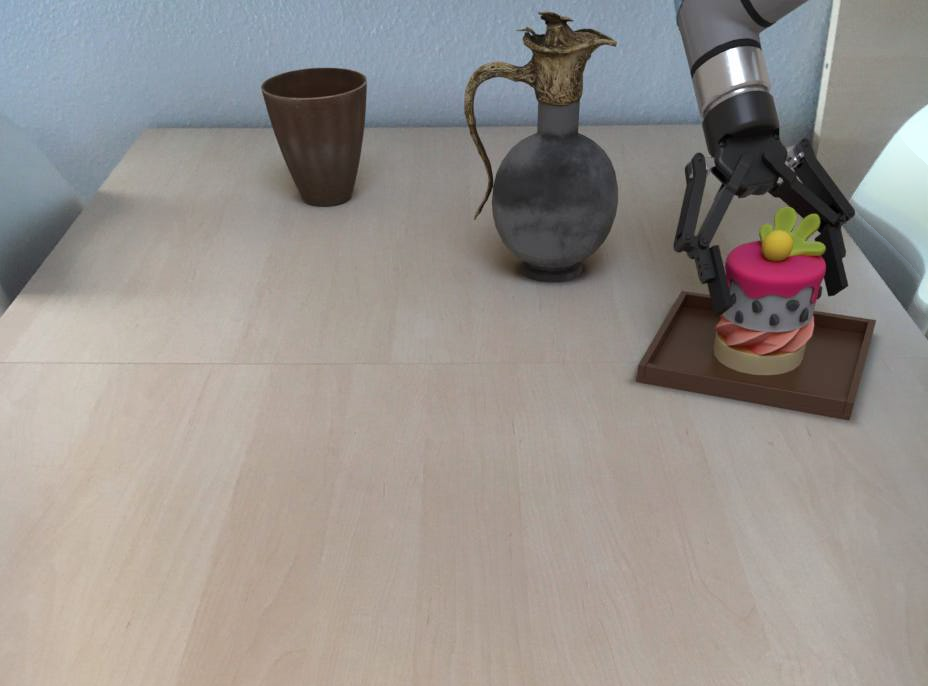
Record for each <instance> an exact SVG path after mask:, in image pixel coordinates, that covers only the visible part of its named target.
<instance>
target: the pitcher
mask: <svg viewBox="0 0 928 686" xmlns="http://www.w3.org/2000/svg"><path fill="white" fill-rule="evenodd" d="M537 13H538V15H540V20H542V21H544V24H545V25H546V27H545V28H546V29H545V33H541V34H538V33H536V32H535V31H534V30H533V29H532V28H530V27H528V26H526V27H525V28H521V29H515V31H516V32H524V35H523V37H522V41H523V46H525V47H527V48H528V49H529V50H530V51H531V52H532V56H531V59H530V60H529V61H528V62H527V63H525V65H522V66H519V65H514V64H511V63H509V62H505V61H500V60H499V61H498V60H497V61H491V62H488V63H484V64H482V65H481V66H479V67H478V68H476V70H475V71H474V72H473V73H472V74H471V75H470V77H469V80H468V82H467V84H466V87H465V89H464V100H463V101H464V102H463V107H464V108H463V109H464V110H463V111H464V117H465V119H466V124H467V127H468V130H469V134H470V137H471V139H472V141H473V143H474V146H475V148H476V150H477V153H478V154H479V155H478V156H480V158H481V160H482V162H483V165H484V167H485V172H486V174H487V186H486V191H485V194H484V197H483V198H482V201H481V203H480V204H479V206H478V208H477V210H476V211H475V213H474V218H473V221H475V220H476V219H477V218H478V216H479V215H481V213H482V211H483V209H484V207H485V204H487V202H488V200H489V198H490V195H491V193H492V195H491V211H492V219H493V222H494V226H495V229H496V231H497V234H498V235H499V238H500V240H501V242H502V243H503V244H504V246H505V247H506V249H508V251H509V252H511V253H512V254H513V255H514V256H515V257H517V258H518V259H520V260H521V261H523V262H522V264H521V265H520V269H521V274H522V275H523V276H525V277H526V278H527V279H530V280H533V281H536V282H543V283H544V282H545V283H563V282H568V281H569V282H570V281H573V280H575V279H576V278H579V277H580V275H581V274H582V272H583V264H582V261H584V260H586V259H588V258H589V257H590V256H591V255H593V254H594V253H596V252H597V251H598V250H599V248H601V246H602V245H603V244H604V243H605V241H606V239H607V238H608V236H609V234H610V233H611V230H612V227H613V225H614V221H615V219H616V216H617V211H618V205H619V185H618V179H617V174H616V170H615V168H614V164H613V162H612V160H611V158H610V156H609V155H608V154H607V152H606V151H605V149H603V148H602V147H601V146H600V144H598V143H597V142H596V141H594V140H593V139H592V138H590V137H588V136H586V135H584V134H583V133H579V125H580V123H579V122H580V107H581V99H582V96H583V93H584V92H583V91H584V72H585V69H586V65H587V62H588V61H589V60H590V59H591V57H592V54H593V53H594V52H595V51H596V50H597V49H598V48H600V47H602V46H610V47H615V48H617V44H618V41H617V40H615V39H613V38H612V37H611V36H609V35H607V34H604V33H603V32H601V31H599V30H597V29H593V28H579V29H577V30H573V29H572V28H571V27H570V25H569V24H568V22H570V23H572V22H575V19H574V18H571V17H568V16H563V15H562V16H561V14H558V13H556V12H552V11H538V12H537ZM494 78H503V79H507V80H509V81H511V82H512V81H513V82H515V83H519V82H520V83H524V84H526V85H528V86H529V87H530V88H533V90H534V95H535V98H536V101H537V124H536V126H537V128H536V129H537V130H536V132H535V133H532V134H531V135H528V136H527V137H525V138H522V139H521V140H519V141H518V142H517V143H515V145H513V146H511V148H510V150H509V151H508V152H507V153H506V155H505V156H504V157H503V159H502V161H501V162H500V165H499V166H498V169H497V171H496V174H495V178H494V173H493V168H492V164H491V160H490V158H489V156H488V154H487V151H486V149H485V146H484V144H483V141H482V139H481V138H480V135H479V133H478V129H477V119H476V116H475V108H474V107H475V97H476V93H477V90H478V88H479V86H481V85H482V84H483V83H484V82H486V81H488V80H491V79H494Z"/></svg>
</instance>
